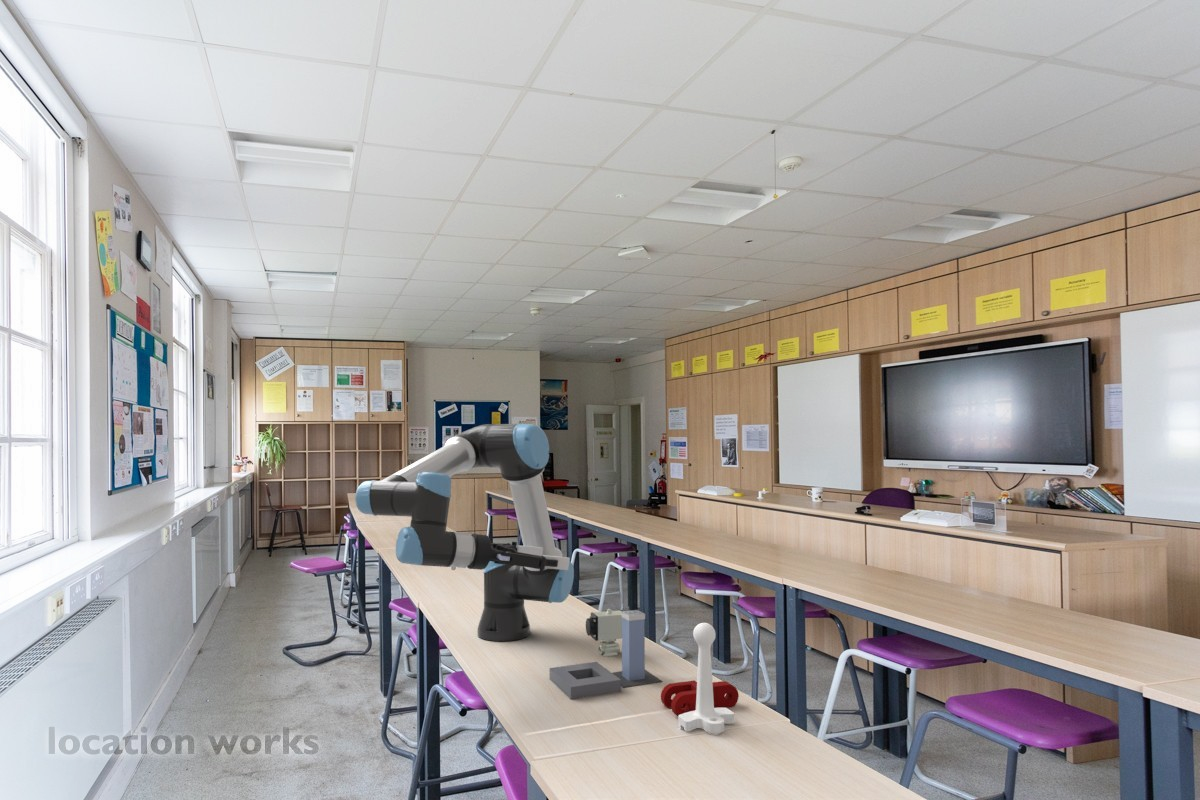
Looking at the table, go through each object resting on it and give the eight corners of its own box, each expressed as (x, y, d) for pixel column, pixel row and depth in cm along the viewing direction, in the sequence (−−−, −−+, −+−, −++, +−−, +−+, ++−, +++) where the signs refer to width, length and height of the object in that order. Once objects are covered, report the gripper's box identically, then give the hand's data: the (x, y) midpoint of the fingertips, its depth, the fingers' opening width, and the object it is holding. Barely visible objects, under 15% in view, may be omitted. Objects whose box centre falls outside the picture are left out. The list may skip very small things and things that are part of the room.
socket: (549, 681, 168) (549, 668, 168) (596, 674, 173) (596, 661, 173) (570, 701, 155) (570, 687, 155) (620, 693, 160) (620, 679, 160)
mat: (605, 676, 171) (605, 673, 171) (642, 670, 175) (642, 668, 175) (623, 689, 162) (623, 686, 162) (662, 683, 166) (662, 680, 166)
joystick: (722, 716, 147) (722, 617, 148) (743, 730, 140) (742, 626, 141) (675, 725, 142) (674, 623, 143) (694, 739, 135) (693, 632, 136)
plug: (621, 675, 170) (621, 611, 171) (637, 673, 172) (637, 609, 172) (629, 681, 166) (628, 615, 167) (645, 678, 168) (645, 613, 168)
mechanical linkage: (674, 721, 145) (674, 696, 145) (660, 708, 152) (660, 684, 152) (744, 711, 150) (744, 687, 150) (727, 699, 157) (727, 676, 157)
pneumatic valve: (633, 655, 187) (633, 609, 188) (590, 660, 184) (590, 612, 184) (626, 649, 192) (626, 604, 193) (584, 653, 189) (584, 607, 190)
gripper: (447, 558, 166) (529, 564, 177) (487, 580, 145) (577, 586, 155) (453, 525, 167) (534, 534, 178) (493, 542, 146) (583, 551, 156)
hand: (554, 558), depth 167 cm, fingers open, 13 cm apart
